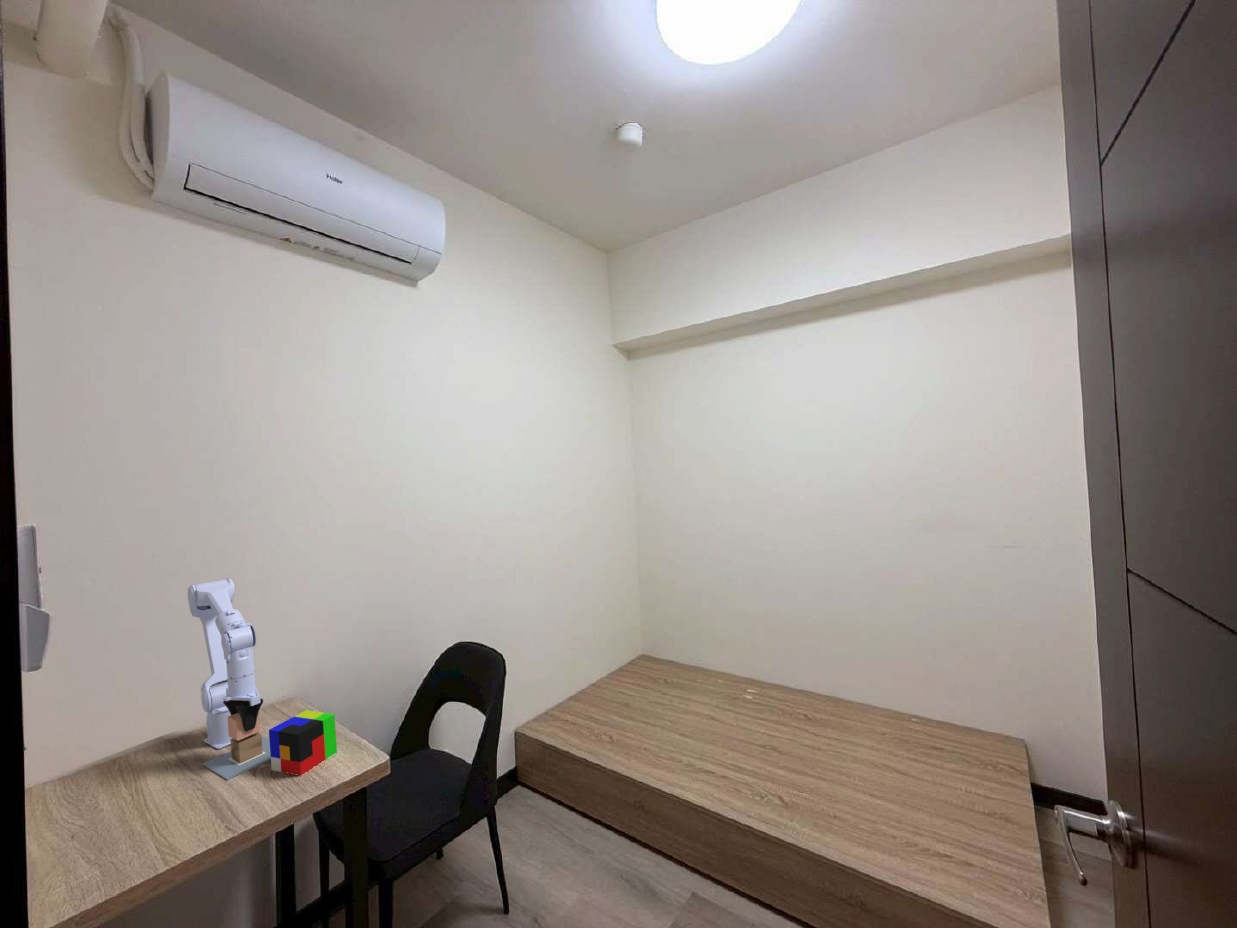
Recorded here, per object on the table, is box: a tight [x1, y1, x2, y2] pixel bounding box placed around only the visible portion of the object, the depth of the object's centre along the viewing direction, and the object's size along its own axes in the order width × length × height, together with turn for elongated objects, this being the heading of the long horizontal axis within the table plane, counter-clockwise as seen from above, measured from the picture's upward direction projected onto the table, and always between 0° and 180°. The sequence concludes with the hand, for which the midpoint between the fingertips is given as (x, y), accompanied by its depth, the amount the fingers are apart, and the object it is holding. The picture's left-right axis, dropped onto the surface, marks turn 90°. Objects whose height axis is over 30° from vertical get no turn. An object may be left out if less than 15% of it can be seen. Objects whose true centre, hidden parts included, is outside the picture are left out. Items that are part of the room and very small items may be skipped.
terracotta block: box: [227, 712, 261, 741], centre depth 133 cm, size 5×5×5 cm
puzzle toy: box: [268, 710, 338, 776], centre depth 130 cm, size 10×10×10 cm
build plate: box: [202, 736, 271, 781], centre depth 133 cm, size 14×14×1 cm
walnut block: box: [230, 732, 263, 764], centre depth 133 cm, size 5×5×5 cm
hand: (245, 727), depth 133 cm, fingers closed on terracotta block, 5 cm apart
